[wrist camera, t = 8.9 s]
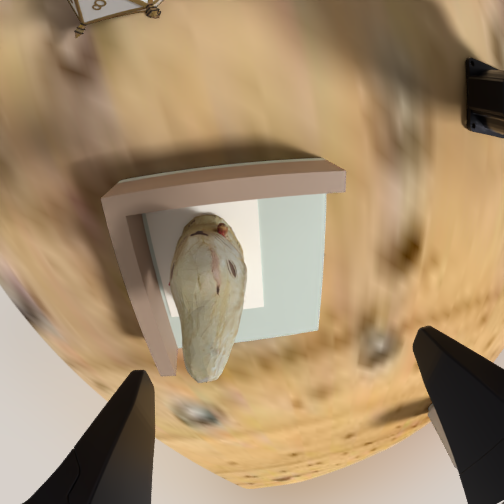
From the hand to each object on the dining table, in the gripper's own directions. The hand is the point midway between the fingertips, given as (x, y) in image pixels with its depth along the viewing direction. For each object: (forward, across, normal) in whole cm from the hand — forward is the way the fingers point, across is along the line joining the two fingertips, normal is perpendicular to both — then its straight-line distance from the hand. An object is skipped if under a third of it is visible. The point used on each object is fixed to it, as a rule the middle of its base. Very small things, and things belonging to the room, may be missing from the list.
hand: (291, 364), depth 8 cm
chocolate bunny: (+12, +3, +3) cm, 12 cm away
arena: (+12, +2, +4) cm, 13 cm away
